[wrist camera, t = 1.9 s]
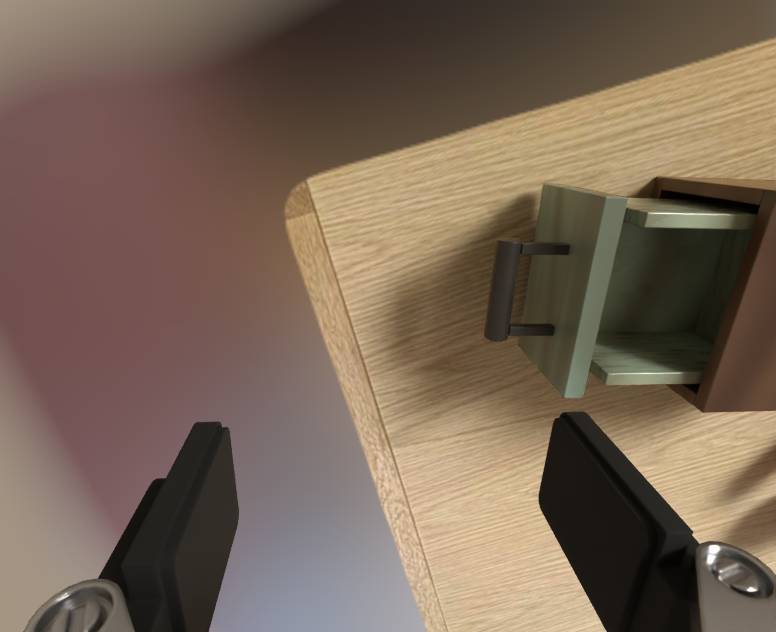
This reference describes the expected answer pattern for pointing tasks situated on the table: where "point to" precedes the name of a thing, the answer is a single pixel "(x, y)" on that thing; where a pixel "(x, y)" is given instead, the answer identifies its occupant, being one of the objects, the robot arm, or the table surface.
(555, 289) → the drawer
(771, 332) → the cabinet
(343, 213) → the table surface
